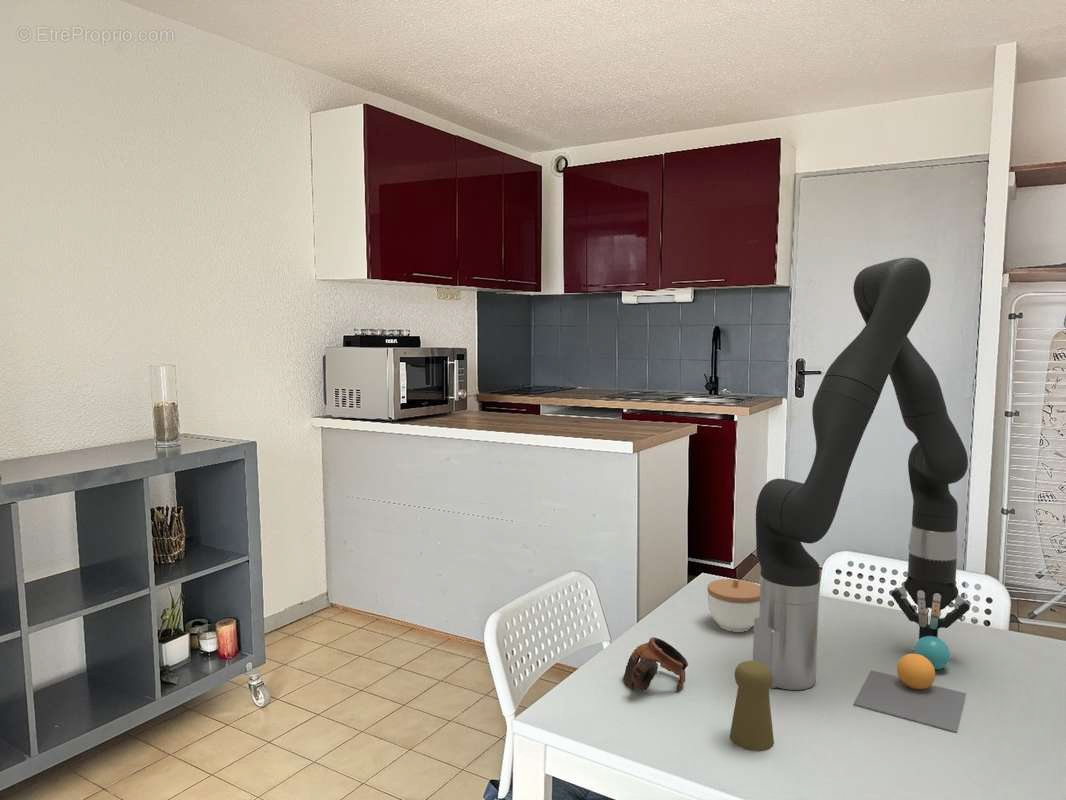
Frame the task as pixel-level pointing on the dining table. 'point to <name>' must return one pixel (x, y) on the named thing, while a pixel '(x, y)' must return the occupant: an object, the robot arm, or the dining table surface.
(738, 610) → the lidded jar
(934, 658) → the teal cue ball
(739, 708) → the olive pepper mill
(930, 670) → the orange ball
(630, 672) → the brown smartwatch
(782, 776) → the dining table surface
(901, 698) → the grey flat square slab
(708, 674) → the dining table surface
